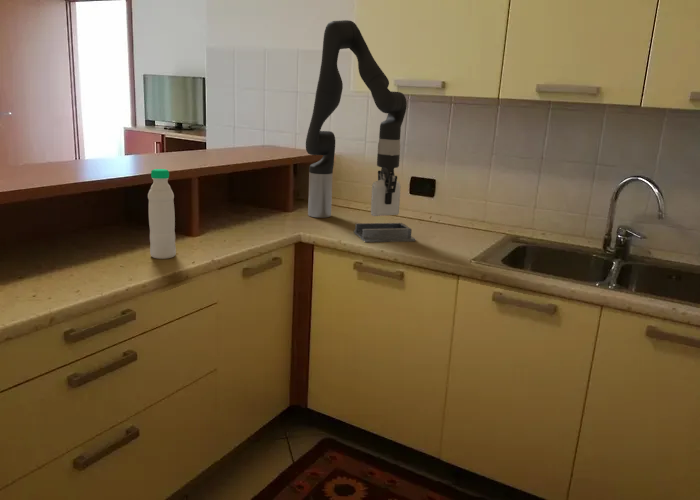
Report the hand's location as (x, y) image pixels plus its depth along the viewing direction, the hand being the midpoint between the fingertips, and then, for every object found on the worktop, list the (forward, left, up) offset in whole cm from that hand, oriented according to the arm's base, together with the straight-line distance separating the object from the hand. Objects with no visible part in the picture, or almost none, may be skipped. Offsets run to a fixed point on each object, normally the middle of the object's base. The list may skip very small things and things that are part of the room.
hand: (385, 202), depth 201 cm
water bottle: (+17, -73, -12) cm, 76 cm away
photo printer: (0, 0, -5) cm, 5 cm away
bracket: (0, 0, -12) cm, 12 cm away
